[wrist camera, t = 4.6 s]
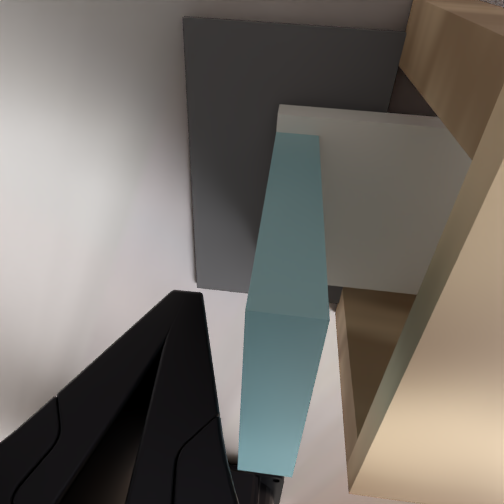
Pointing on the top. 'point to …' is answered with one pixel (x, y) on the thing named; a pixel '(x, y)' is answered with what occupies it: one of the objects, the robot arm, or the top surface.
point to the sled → (333, 250)
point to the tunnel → (438, 296)
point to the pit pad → (264, 119)
